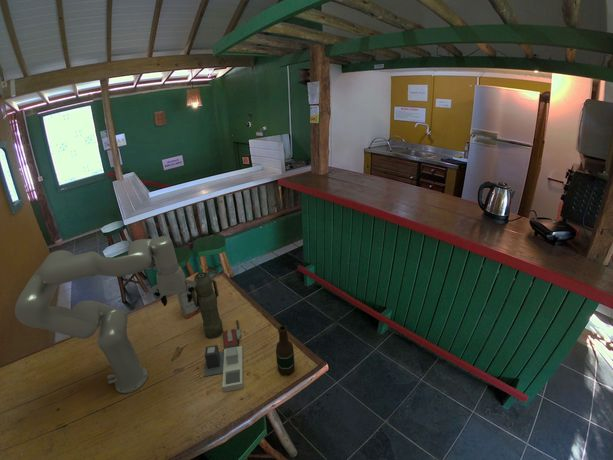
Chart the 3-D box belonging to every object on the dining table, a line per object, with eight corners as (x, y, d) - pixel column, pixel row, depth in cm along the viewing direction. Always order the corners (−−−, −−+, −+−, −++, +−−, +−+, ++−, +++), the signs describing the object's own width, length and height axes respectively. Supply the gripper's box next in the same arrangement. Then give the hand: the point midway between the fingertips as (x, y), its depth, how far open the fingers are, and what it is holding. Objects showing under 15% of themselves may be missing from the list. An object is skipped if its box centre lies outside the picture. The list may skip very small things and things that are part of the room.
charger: (208, 368, 138) (204, 355, 134) (209, 359, 143) (205, 346, 139) (219, 366, 139) (216, 353, 135) (220, 357, 143) (217, 344, 139)
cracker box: (188, 320, 167) (179, 288, 157) (182, 315, 170) (173, 283, 161) (210, 306, 176) (203, 275, 167) (204, 301, 180) (197, 271, 170)
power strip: (223, 391, 129) (220, 378, 125) (225, 353, 146) (222, 341, 142) (243, 388, 130) (240, 375, 126) (242, 350, 147) (240, 338, 144)
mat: (204, 377, 135) (204, 376, 135) (206, 355, 146) (206, 354, 145) (223, 373, 136) (223, 372, 136) (224, 352, 147) (224, 351, 147)
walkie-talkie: (243, 350, 148) (239, 321, 165) (242, 343, 146) (238, 315, 163) (224, 355, 146) (222, 325, 163) (223, 348, 144) (221, 319, 161)
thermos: (229, 329, 160) (218, 272, 144) (209, 343, 152) (195, 285, 136) (218, 321, 165) (206, 266, 149) (199, 335, 157) (184, 277, 141)
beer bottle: (275, 365, 139) (270, 324, 128) (291, 359, 142) (288, 318, 131) (281, 379, 133) (276, 337, 122) (298, 372, 135) (295, 331, 124)
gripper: (141, 276, 116) (153, 311, 124) (190, 269, 119) (198, 304, 127) (146, 265, 123) (158, 299, 131) (192, 259, 125) (200, 293, 133)
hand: (178, 302), depth 129 cm, fingers open, 9 cm apart
